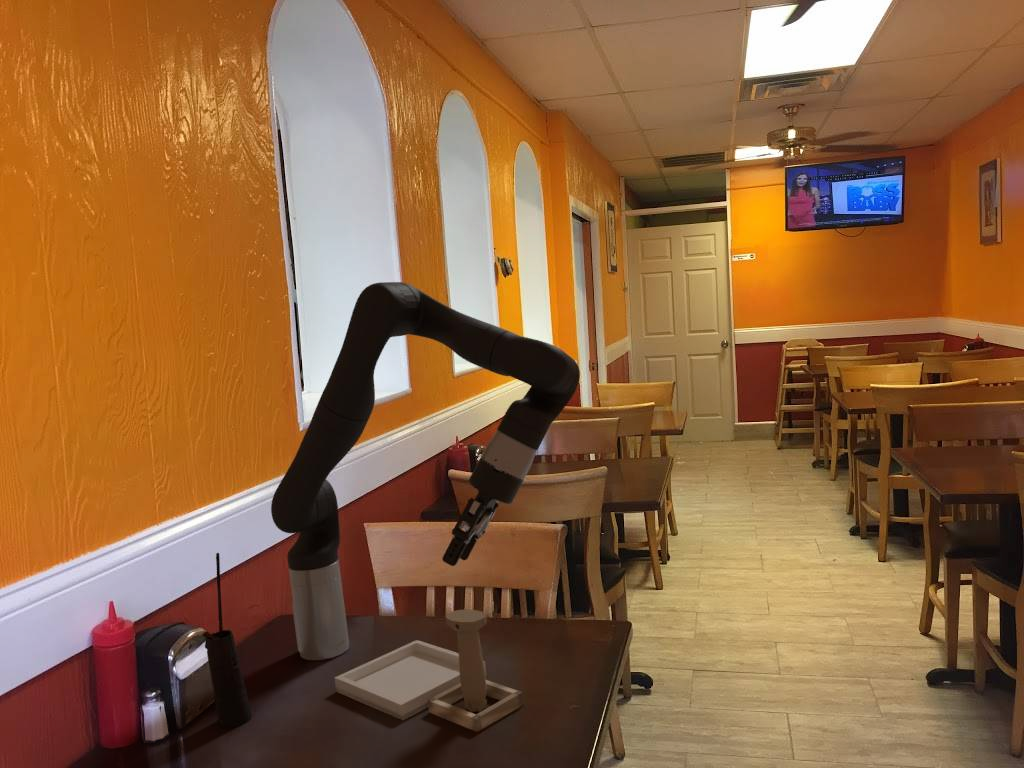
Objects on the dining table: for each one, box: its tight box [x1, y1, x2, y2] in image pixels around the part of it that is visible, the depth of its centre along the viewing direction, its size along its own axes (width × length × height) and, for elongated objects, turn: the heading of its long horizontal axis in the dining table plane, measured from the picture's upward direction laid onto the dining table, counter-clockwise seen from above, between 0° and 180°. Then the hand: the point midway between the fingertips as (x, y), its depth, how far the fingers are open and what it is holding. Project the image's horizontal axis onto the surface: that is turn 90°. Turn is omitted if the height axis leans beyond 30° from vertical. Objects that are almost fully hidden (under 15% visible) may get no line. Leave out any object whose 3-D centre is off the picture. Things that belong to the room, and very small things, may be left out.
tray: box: [334, 639, 487, 721], centre depth 146 cm, size 18×18×2 cm
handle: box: [445, 609, 488, 713], centre depth 134 cm, size 5×6×15 cm
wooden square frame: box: [427, 679, 525, 733], centre depth 134 cm, size 11×10×2 cm
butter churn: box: [202, 552, 253, 729], centre depth 138 cm, size 9×10×28 cm
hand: (454, 560), depth 132 cm, fingers open, 8 cm apart
